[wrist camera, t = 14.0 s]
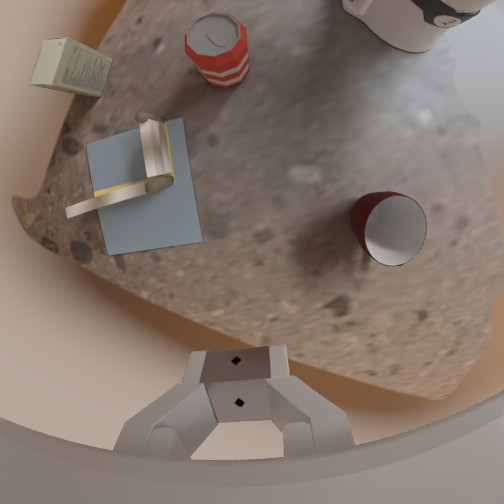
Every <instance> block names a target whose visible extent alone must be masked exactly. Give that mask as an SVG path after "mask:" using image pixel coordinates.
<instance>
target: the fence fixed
mask: <svg viewBox="0 0 504 504" xmlns="http://www.w3.org/2000/svg"><path fill="white" fill-rule="evenodd" d="M135 119H136V121H137V122H139V126H140V133H141V141H142V147H143V154H144V160H145V167H146V173H147V178H148V177H152V176H157V175H161V174H166V173H170V172H172V170H171V164H170V158H169V152H168V145H167V138H166V131H165V119H164V118H162V117H160V116H157V115H154V114H151V113H149V112H146V111H143V110H141V111H139V112H137V114H136V116H135ZM173 183H174V177H173V176H171V175H167V176H163V177H159V178H155V179H151V180H149V181H147V183H146V189H147V190H148V191H149V192H154V191H157V190H159V189H162V188H165V187H167V186H170V185H172V184H173Z"/></svg>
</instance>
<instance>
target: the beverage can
mask: <svg viewBox="0 0 504 504" xmlns="http://www.w3.org/2000/svg"><path fill="white" fill-rule="evenodd" d="M185 52H186V54H187V55H188V56H189V58H190V59H191V60H192V62H193V63H194V65H195V66H196V67H197V69H198V70H199V71H200V73H201V74H202V76H203V77H204V78H205V79H206V80H207V81H208V82H209V83H210V84H211V85H213V86H219V87H225V88H228V87H230V86H233V85H235V84H238V83H241V82H242V81H243V79H244V78H245V76H246V75H247V73H248V72H249V71H250V69H249V57H248V46H247V36H246V28H245V27H244V26H243V25H242V24H241V23H240V22H238V21H237V20H236V19H235V18H234V17H232V16H230V15H229V14H225V13H217V12H211V13H208V14H205V15H203V16H200V17H198V18H196V19H195V20H194V21H193V23H192V24H191V25H190V27H189V28H188V29H187V33H186V35H185Z"/></svg>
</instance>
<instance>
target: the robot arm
mask: <svg viewBox="0 0 504 504" xmlns="http://www.w3.org/2000/svg"><path fill="white" fill-rule="evenodd" d="M497 1H499V0H352V1H350V0H342V6H343V8H344V10H345V11H347V12H348V13H350V14H351V15H353V16H355V17H357V18H359V19H361V20H362V21H363V22H364V23H365V24H366V25H367V26H368V27H369V28H370V29H371V30H372V31H373V32H374V33H375V34H376V35H378V36H379V37H380V38H381V39H383V40H384V41H386V42H387V43H389V44H391V45H392V46H394V47H397V48H399V49H402V50H405V51H409V52H424V51H427V50H429V49H431V48H432V47H433V46H434V45H435V43H436V42H437V40H438V39H439V38H440V36H441V35H442V34H443V33H444V32H445V31H446V30H447V29H448V28H450V27H453V26H456V25H458V24H461V23H463V22H465V21H467V20H469V19H470V18H472V17H474V16H476V15H477V14H478V13H479V12H480V10H481V9H482V8H484V7H486V6H488V5H490V4H492V3H494V2H497ZM260 420H272V422H273V423H274V424H275V425H276V426H277V427H278V429H279V430H280V431H281V432H282V433H283V443H284V457H280V458H267V459H251V460H191V458H190V456H191V455H192V454H193V453H194V452H195V451H196V450H197V448H198V447H199V446H200V445H201V444H202V443H203V441H204V440H205V439H206V438H207V437H208V436H209V434H210V433H211V432H212V431H213V429H214V428H215V427H216V426H217V425H218V423H224V422H240V421H260ZM0 504H504V390H503V391H502V392H500V393H498V394H496V395H494V396H492V397H490V398H488V399H486V400H484V401H482V402H480V403H478V404H476V405H474V406H472V407H469V408H467V409H465V410H463V411H461V412H458V413H456V414H453V415H451V416H449V417H446V418H444V419H441V420H439V421H436V422H433V423H431V424H428V425H425V426H422V427H419V428H416V429H414V430H411V431H408V432H404V433H401V434H398V435H394V436H391V437H387V438H384V439H380V440H376V441H372V442H368V443H364V444H360V445H355V443H354V439H353V436H352V432H351V429H350V425H349V422H348V418H347V415H346V413H345V412H343V411H342V410H341V409H339V408H338V407H336V406H335V405H334V404H332V403H331V402H329V401H328V400H327V399H325V398H324V397H322V396H321V395H320V394H318V393H317V392H316V391H314V390H313V389H311V388H310V387H309V386H308V385H306V384H305V383H304V382H302V381H301V380H299V379H298V378H297V377H296V376H290V374H289V366H288V359H287V351H286V344H285V343H282V344H275V345H269V346H264V347H255V348H246V349H229V350H210V351H194V352H192V353H191V355H190V358H189V361H188V364H187V368H186V371H185V374H184V377H183V381H182V384H176V385H175V386H174V387H172V388H171V389H170V390H168V391H167V392H166V393H165V394H163V395H162V396H160V397H159V398H158V399H157V400H155V401H154V402H152V403H151V404H150V405H148V406H147V407H146V408H144V409H143V410H142V411H140V412H139V413H137V414H136V415H135V416H133V417H132V418H130V419H129V420H128V421H126V422H125V423H124V426H123V428H122V430H121V432H120V435H119V437H118V439H117V442H116V444H115V447H114V449H113V451H111V450H107V449H101V448H97V447H92V446H88V445H84V444H79V443H75V442H72V441H68V440H64V439H60V438H57V437H53V436H50V435H47V434H44V433H41V432H38V431H35V430H32V429H29V428H26V427H24V426H21V425H18V424H16V423H13V422H11V421H8V420H6V419H3V418H1V417H0Z"/></svg>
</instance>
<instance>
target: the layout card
mask: <svg viewBox="0 0 504 504" xmlns="http://www.w3.org/2000/svg"><path fill="white" fill-rule="evenodd" d="M165 131H166V138H167V145H168V152H169V158H170V164H171V170H172V172H170V173H166V174H161V175H157V176H152V177H148V178H147V173H146V167H145V160H144V154H143V147H142V141H141V133H140V128H137V129H134V130H130V131H127V132H123V133H120V134H117V135H113V136H110V137H107V138H104V139H101V140H98V141H95V142H92V143H89V144H86V147H87V155H88V161H89V168H90V174H91V180H92V185H93V191H94V197H97V196H100V195H103V194H106V193H109V192H112V191H115V190H118V189H121V188H125V187H128V186H131V185H134V184H138V183H141V182H144V181H145V182H147V181H149V180H151V179H155V178H159V177H163V176H167V175H171V176H173V177H174V183H173V184H172V185H170V186H167V187H165V188H162V189H159V190H157V191H154V192H148V193H147V194H143V195H140V196H136V197H133V198H130V199H126V200H123V201H120V202H116V203H113V204H110V205H107V206H103V207H100V208H97V210H98V215H99V219H100V224H101V228H102V232H103V236H104V240H105V244H106V248H107V252H108V256H109V255H116V254H122V253H129V252H136V251H143V250H149V249H156V248H163V247H170V246H177V245H185V244H192V243H199V242H203V237H202V232H201V227H200V221H199V216H198V210H197V205H196V199H195V193H194V187H193V181H192V175H191V169H190V163H189V156H188V150H187V143H186V136H185V129H184V122H183V118H177V119H173V120H168V121H165Z"/></svg>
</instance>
